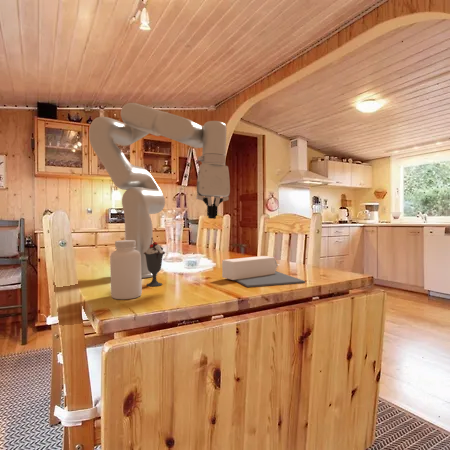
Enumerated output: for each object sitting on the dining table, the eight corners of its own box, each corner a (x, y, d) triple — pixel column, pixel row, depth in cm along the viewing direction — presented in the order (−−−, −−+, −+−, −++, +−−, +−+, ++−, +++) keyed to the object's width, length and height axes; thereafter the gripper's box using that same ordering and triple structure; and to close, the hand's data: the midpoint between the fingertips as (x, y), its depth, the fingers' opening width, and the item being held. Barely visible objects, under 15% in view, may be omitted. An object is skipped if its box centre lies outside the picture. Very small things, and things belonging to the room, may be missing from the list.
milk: (232, 262, 109) (281, 256, 121) (221, 259, 113) (269, 254, 126) (232, 280, 109) (281, 273, 122) (221, 277, 114) (269, 270, 127)
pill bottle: (114, 293, 94) (114, 239, 93) (143, 292, 94) (143, 239, 94) (107, 300, 86) (106, 242, 85) (139, 299, 87) (138, 241, 86)
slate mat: (247, 287, 101) (247, 285, 101) (225, 275, 120) (225, 274, 120) (305, 282, 107) (305, 281, 107) (275, 272, 126) (275, 270, 126)
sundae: (146, 288, 100) (146, 238, 99) (141, 284, 106) (140, 236, 105) (168, 285, 103) (167, 237, 102) (161, 282, 109) (161, 236, 108)
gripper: (194, 158, 102) (192, 218, 102) (239, 161, 106) (237, 219, 107) (188, 161, 109) (186, 217, 110) (231, 164, 114) (229, 218, 114)
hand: (212, 218), depth 108 cm, fingers closed
